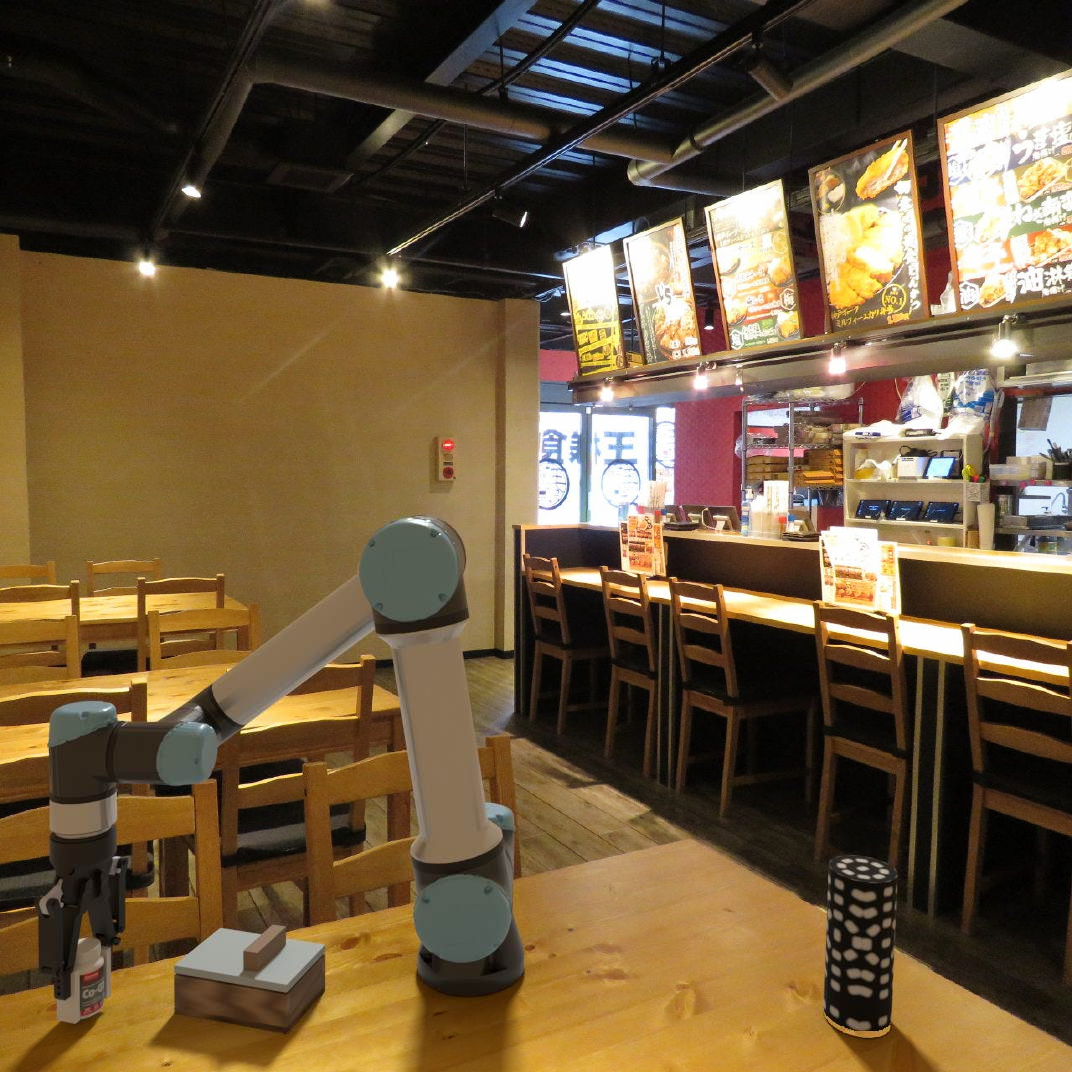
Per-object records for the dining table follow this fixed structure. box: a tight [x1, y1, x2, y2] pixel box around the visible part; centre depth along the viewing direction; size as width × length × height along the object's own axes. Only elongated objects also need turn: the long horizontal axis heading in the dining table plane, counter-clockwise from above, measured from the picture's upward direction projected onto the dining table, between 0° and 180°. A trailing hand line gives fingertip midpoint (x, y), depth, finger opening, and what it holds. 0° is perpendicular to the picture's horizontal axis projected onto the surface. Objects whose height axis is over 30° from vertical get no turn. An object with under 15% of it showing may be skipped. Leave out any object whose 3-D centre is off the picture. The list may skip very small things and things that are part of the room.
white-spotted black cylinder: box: [822, 854, 899, 1031], centre depth 115 cm, size 8×8×20 cm
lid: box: [173, 924, 326, 993], centre depth 116 cm, size 16×10×4 cm, turn 76°
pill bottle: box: [74, 937, 105, 1020], centre depth 112 cm, size 5×5×8 cm
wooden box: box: [173, 953, 326, 1035], centre depth 117 cm, size 16×10×5 cm, turn 76°
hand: (84, 1007), depth 113 cm, fingers closed on pill bottle, 5 cm apart
